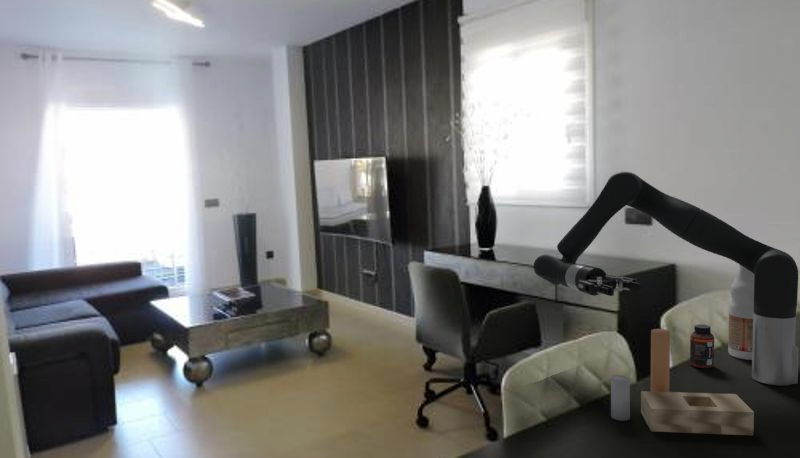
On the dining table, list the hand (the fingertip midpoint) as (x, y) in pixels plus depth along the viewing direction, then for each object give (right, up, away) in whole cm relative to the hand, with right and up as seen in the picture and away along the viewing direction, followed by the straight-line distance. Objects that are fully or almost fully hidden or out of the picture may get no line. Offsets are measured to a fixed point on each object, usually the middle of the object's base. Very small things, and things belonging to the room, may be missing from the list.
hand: (626, 290), depth 148 cm
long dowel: (+5, -26, -8) cm, 28 cm away
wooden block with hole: (+9, -27, -18) cm, 34 cm away
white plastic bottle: (+44, -22, +25) cm, 55 cm away
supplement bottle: (+28, -23, +18) cm, 40 cm away
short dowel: (-6, -27, -13) cm, 31 cm away
